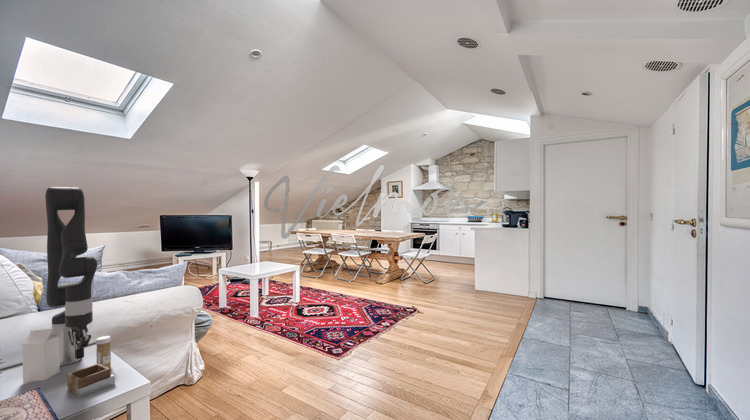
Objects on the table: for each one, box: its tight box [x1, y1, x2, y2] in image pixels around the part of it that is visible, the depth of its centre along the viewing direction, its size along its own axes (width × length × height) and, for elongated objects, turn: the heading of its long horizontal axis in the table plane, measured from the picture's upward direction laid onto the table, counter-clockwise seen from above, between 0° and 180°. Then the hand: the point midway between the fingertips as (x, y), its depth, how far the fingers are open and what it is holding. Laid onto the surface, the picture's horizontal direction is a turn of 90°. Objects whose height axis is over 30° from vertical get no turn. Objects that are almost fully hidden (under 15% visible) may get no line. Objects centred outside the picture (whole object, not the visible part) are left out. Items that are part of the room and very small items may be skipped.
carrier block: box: [66, 363, 111, 396], centre depth 117 cm, size 9×9×6 cm
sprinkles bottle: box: [95, 335, 112, 369], centre depth 130 cm, size 5×5×14 cm
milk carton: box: [22, 328, 61, 385], centre depth 125 cm, size 7×7×19 cm
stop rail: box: [76, 374, 116, 400], centre depth 114 cm, size 2×10×4 cm, turn 151°
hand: (79, 358), depth 121 cm, fingers closed
